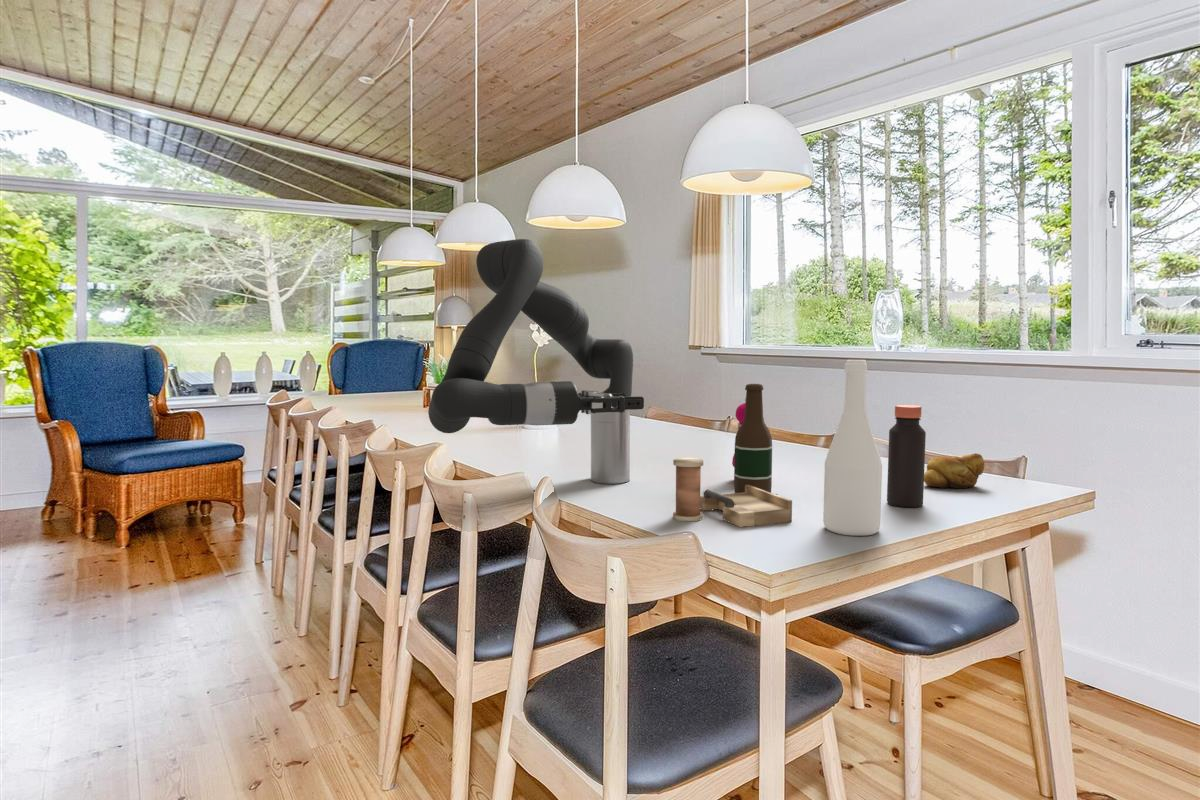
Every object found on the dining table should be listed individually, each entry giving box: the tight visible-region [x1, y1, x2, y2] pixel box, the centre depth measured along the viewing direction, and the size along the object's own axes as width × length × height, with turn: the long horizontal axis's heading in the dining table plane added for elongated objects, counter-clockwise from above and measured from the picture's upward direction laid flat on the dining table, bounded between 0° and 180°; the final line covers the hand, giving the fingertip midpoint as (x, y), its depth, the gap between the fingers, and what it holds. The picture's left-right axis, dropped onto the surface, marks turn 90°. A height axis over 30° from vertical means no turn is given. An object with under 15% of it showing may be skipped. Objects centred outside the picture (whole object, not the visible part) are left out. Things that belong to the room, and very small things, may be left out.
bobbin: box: [672, 457, 704, 522], centre depth 138 cm, size 6×6×11 cm
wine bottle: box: [822, 359, 883, 537], centre depth 129 cm, size 10×10×30 cm
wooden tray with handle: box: [700, 485, 793, 528], centre depth 141 cm, size 15×11×4 cm
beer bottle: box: [733, 383, 773, 493], centre depth 155 cm, size 8×8×24 cm
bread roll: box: [924, 453, 985, 489], centre depth 167 cm, size 13×10×8 cm
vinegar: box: [886, 404, 927, 509], centre depth 148 cm, size 7×7×20 cm
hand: (633, 400), depth 133 cm, fingers open, 8 cm apart
